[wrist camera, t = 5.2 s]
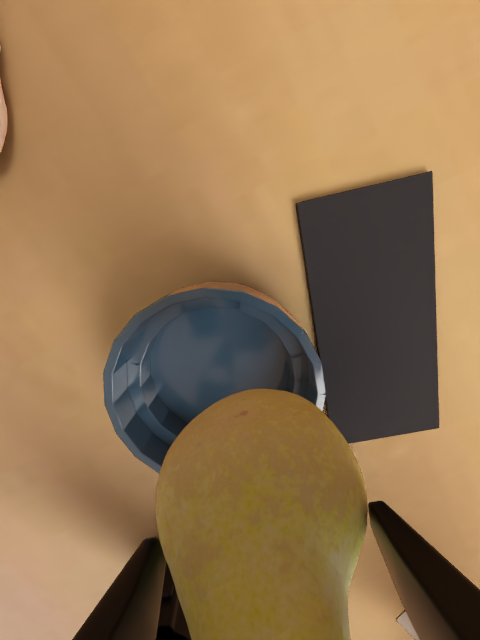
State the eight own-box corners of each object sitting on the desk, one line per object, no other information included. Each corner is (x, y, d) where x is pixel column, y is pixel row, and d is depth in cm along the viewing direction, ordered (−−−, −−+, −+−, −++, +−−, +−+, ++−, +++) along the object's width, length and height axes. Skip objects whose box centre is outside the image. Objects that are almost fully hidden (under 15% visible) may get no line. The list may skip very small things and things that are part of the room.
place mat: (435, 425, 21) (439, 428, 21) (331, 443, 22) (333, 446, 22) (428, 172, 17) (432, 170, 16) (295, 203, 17) (296, 202, 17)
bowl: (318, 426, 22) (337, 469, 17) (162, 454, 22) (142, 502, 18) (291, 263, 18) (307, 264, 14) (109, 303, 19) (69, 316, 15)
